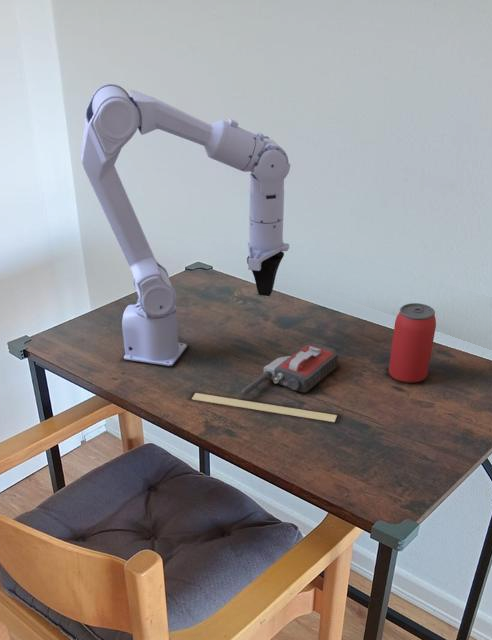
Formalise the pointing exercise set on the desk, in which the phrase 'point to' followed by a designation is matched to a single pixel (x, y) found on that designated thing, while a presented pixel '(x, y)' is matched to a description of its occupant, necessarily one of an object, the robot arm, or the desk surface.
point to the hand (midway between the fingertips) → (264, 294)
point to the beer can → (412, 343)
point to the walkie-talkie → (299, 368)
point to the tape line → (265, 407)
